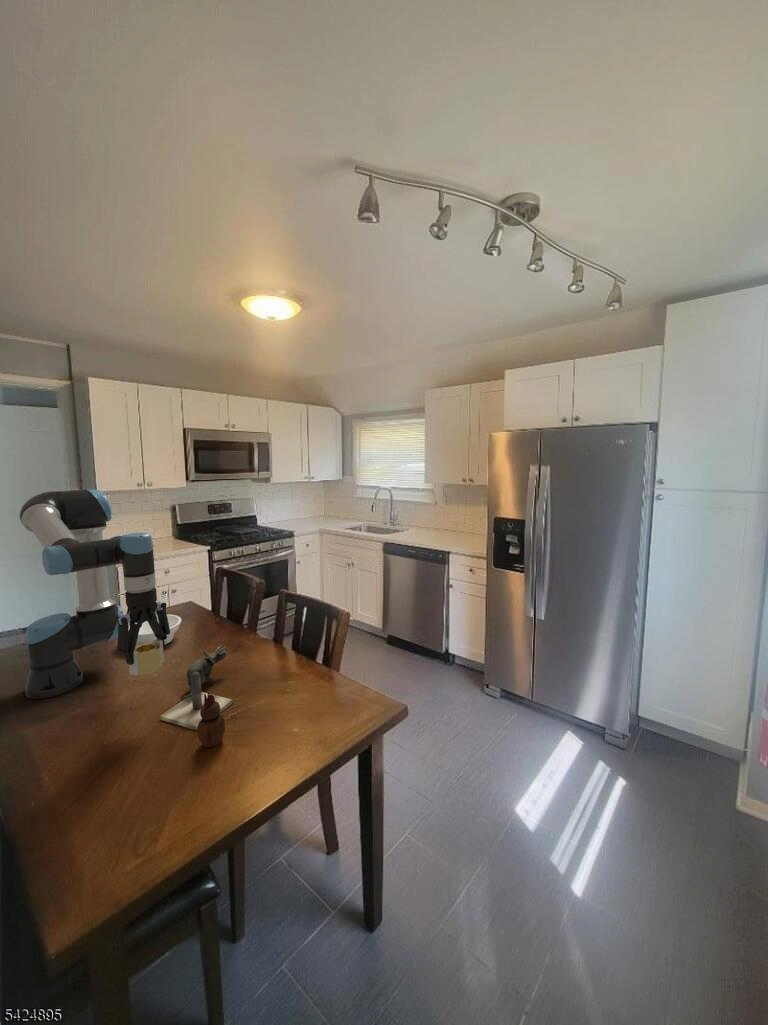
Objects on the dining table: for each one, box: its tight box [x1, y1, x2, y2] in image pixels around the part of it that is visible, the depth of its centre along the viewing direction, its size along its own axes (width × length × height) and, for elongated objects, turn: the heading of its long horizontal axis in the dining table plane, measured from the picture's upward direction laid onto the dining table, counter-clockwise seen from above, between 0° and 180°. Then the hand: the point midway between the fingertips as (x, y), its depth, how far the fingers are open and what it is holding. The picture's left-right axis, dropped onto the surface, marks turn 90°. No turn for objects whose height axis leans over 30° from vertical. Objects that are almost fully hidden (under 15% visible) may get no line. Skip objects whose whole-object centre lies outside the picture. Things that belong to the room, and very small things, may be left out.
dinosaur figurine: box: [182, 643, 228, 699], centre depth 138 cm, size 22×8×11 cm, turn 167°
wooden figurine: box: [196, 692, 226, 749], centre depth 111 cm, size 7×6×15 cm
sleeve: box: [134, 642, 163, 676], centre depth 118 cm, size 7×7×6 cm
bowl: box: [128, 614, 182, 647], centre depth 172 cm, size 21×21×8 cm
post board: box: [160, 672, 234, 731], centre depth 125 cm, size 14×14×12 cm
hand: (147, 667), depth 119 cm, fingers closed on sleeve, 7 cm apart
